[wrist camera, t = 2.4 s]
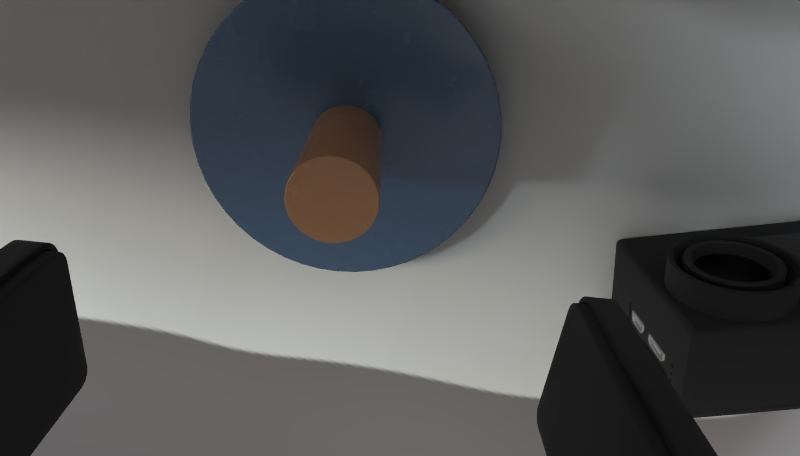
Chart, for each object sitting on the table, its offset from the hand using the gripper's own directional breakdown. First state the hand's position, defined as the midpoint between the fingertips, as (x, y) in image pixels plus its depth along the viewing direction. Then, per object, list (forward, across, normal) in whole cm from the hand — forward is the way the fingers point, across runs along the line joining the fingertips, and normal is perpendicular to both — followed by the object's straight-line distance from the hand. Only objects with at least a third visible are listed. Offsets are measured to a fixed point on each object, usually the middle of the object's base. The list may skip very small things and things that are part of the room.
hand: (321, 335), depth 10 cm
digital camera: (+14, -17, +4) cm, 23 cm away
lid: (+13, +1, 0) cm, 13 cm away
